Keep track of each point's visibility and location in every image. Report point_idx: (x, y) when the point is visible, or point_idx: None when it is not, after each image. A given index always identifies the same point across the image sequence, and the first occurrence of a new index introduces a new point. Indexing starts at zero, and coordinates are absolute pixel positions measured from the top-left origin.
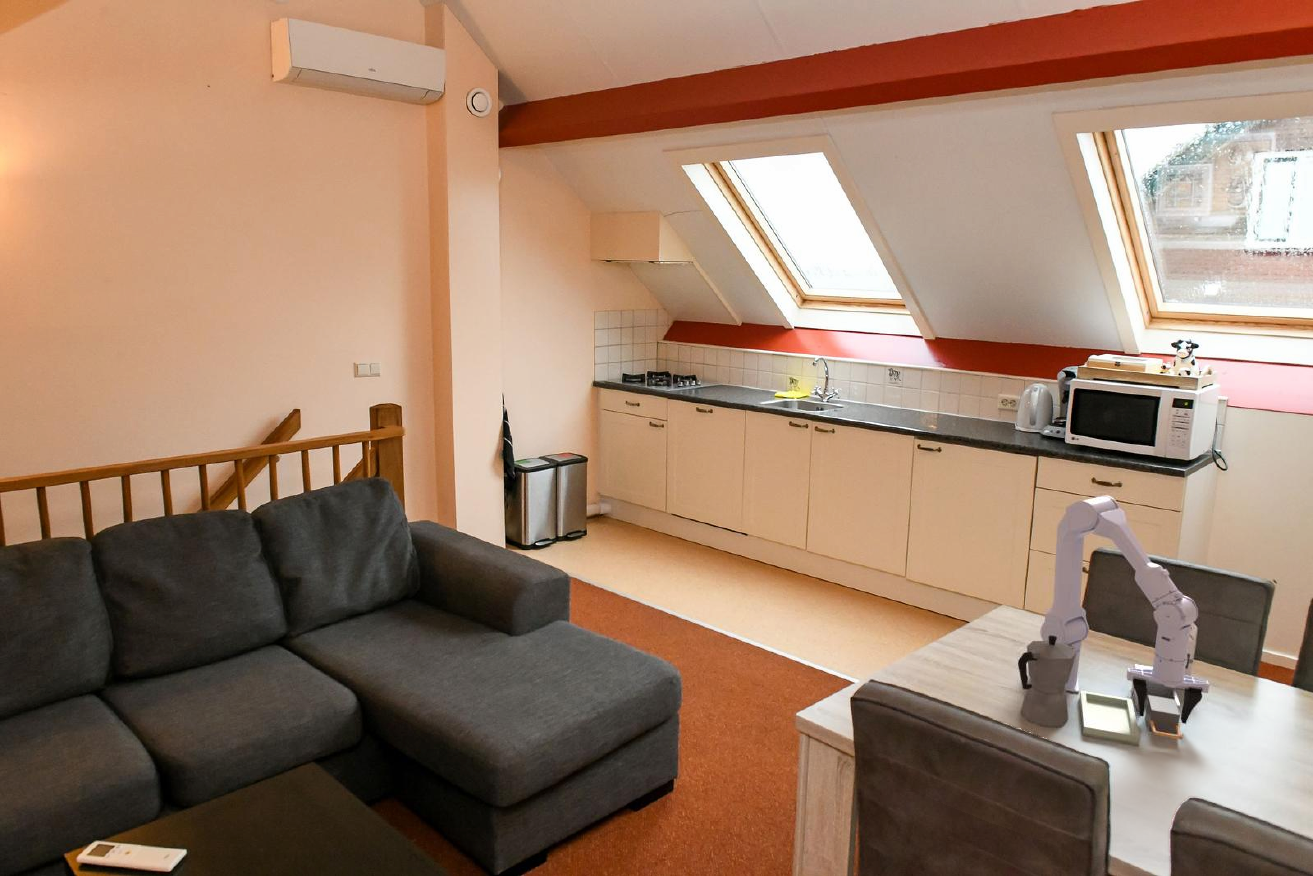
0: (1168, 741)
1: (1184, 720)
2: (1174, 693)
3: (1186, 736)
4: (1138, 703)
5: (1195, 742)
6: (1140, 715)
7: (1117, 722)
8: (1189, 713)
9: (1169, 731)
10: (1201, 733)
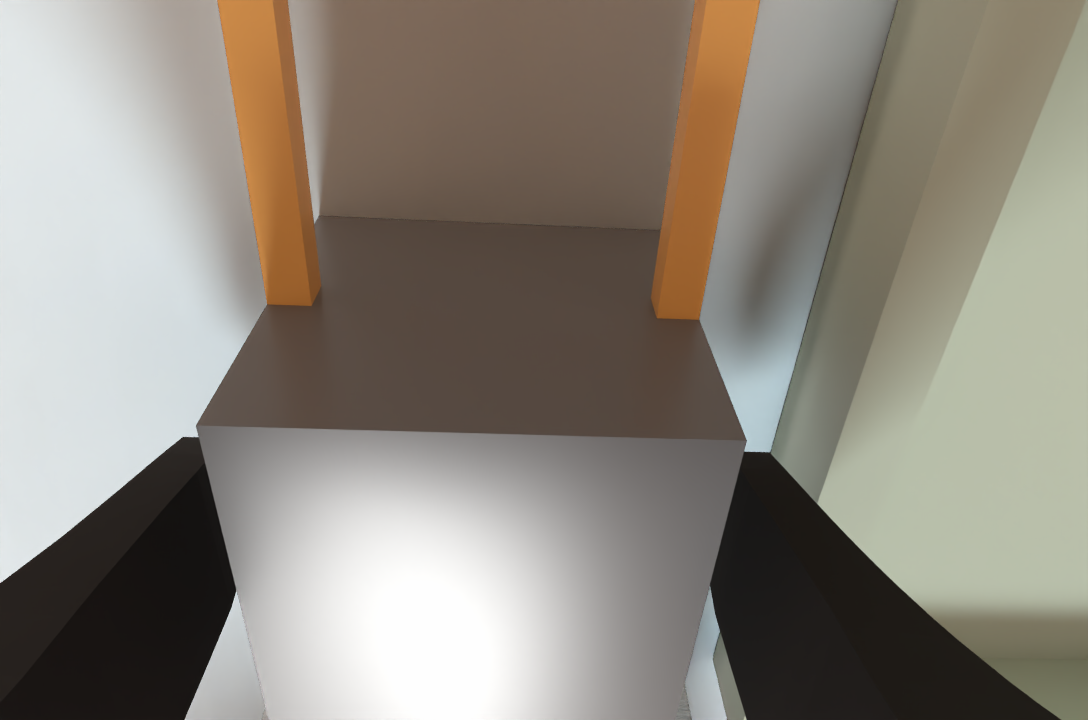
0: (438, 37)
1: (179, 464)
2: None
3: (200, 286)
4: (682, 703)
5: (74, 154)
6: (772, 456)
7: (1055, 296)
8: (43, 554)
9: (408, 247)
10: (46, 417)
